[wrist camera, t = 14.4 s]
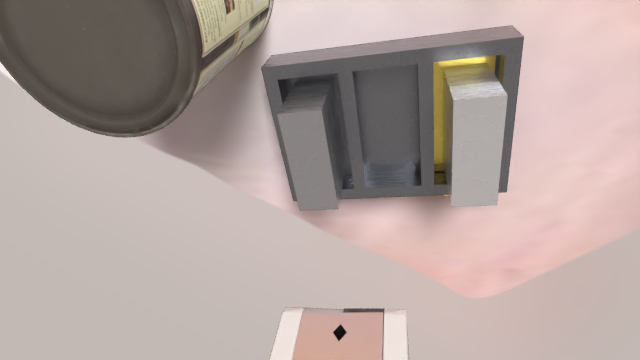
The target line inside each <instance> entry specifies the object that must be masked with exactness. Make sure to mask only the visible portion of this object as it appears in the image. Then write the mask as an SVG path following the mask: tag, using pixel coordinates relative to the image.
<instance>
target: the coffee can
mask: <svg viewBox="0 0 640 360" xmlns="http://www.w3.org/2000/svg"><path fill="white" fill-rule="evenodd" d="M272 4H273V0H0V62H1V63H2V64H3V66H4V67H5V68H6V69H7V71H8V72H9V73H10V74H11V75H12V77H13V78H14V79H15V80H16V81H17V82H18V83H19V85H20V86H21V87H22V88H23V89H25V90H26V91H27V92H28V93H29V94H30V95H31V96H32V97H33V98H34V99H35V100H37V101H38V102H39V103H40V104H42V105H43V106H44V107H46V108H47V109H48V110H50V111H51V112H53V113H54V114H56V115H57V116H59V117H60V118H62V119H64V120H66V121H68V122H70V123H71V124H74V125H76V126H78V127H80V128H83V129H85V130H88V131H91V132H94V133H97V134H102V135H106V136H113V137H137V136H143V135H147V134H151V133H153V132H156V131H158V130H160V129H162V128H164V127H165V126H167V125H168V124H170V123H171V122H172V121H173V120H175V119H176V118H177V117H178V116H179V115H180V114H181V113H182V112H183V110H184V109H185V108H186V106H187V105H188V104H189V102H190V100H191V99H192V98H193V97H194V96H195V95H196V94H197V93H198V92H199V91H200V90H202V89H203V88H204V87H205V86H206V85H207V84H208V83H209V82H210V81H211V80H212V79H213V78H214V77H215V76H216V75H217V74H218V73H219V72H220V71H222V70H223V69H224V68H225V67H226V66H227V65H228V64H229V63H230V62H231V61H232V60H233V59H234V58H235V57H236V56H237V55H238V54H240V53H241V52H242V51H243V50H244V49H245V48H246V47H248V46H249V45H250V44H252V43H253V42H254V41H255V40H256V39H257V38H258V37H259V36H260V34H261V33H262V31H263V30H264V28H265V26H266V24H267V22H268V20H269V17H270V14H271V10H272Z"/></svg>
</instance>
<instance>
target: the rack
mask: <svg viewBox="0 0 640 360" xmlns="http://www.w3.org/2000/svg"><path fill="white" fill-rule="evenodd" d="M523 40H524V36H523V35H522V34H521V33H520V32H519V31H517V30H516V29H515V28H514V27H513V26H504V27H495V28H487V29H479V30H471V31H463V32H455V33H447V34H439V35H431V36H423V37H415V38H407V39H399V40H391V41H383V42H375V43H367V44H359V45H351V46H343V47H335V48H327V49H319V50H311V51H303V52H295V53H287V54H279V55H271V57H270V58H269V59H268V60H267V61H266V62H265V64H264V65H263V66H262V67H261V69H262V74H263V78H264V82H265V86H266V90H267V94H268V98H269V102H270V106H271V111H272V115H273V119H274V123H275V127H276V131H277V135H278V139H279V143H280V148H281V152H282V156H283V160H284V164H285V168H286V172H287V176H288V180H289V185H290V189H291V193H292V197H293V201H298V205H299V209H300V210H324V209H339V203H340V199H356V198H380V197H404V196H427V195H444V196H449V193H448V188H447V183H446V178H445V173H444V168H443V68H446V67H455V66H464V65H473V64H483V63H488V65H489V66H490V68H491V70H492V71H493V73H494V74H495V76H496V78H497V79H498V81H499V82H500V84H501V85H502V87H503V89H504V90H505V92H506V93H507V95H508V97H507V107H506V117H505V128H504V138H503V148H502V159H501V169H500V179H499V189H498V193H499V192H507V185H508V176H509V167H510V158H511V149H512V140H513V130H514V121H515V112H516V103H517V94H518V85H519V76H520V67H521V58H522V49H523Z"/></svg>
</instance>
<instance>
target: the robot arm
mask: <svg viewBox="0 0 640 360" xmlns="http://www.w3.org/2000/svg"><path fill="white" fill-rule="evenodd" d="M269 360H409V347H408V330H407V315H406V310H405V309H401V310H400V309H385V310H384V309H322V308H297V307H286V308H285V309H284V311H283V313H282V315H281V319H280V322H279V326H278V330H277V333H276V337H275V340H274V344H273V348H272V351H271V355H270V358H269Z"/></svg>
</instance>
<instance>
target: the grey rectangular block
mask: <svg viewBox="0 0 640 360" xmlns="http://www.w3.org/2000/svg"><path fill="white" fill-rule="evenodd" d="M507 97H508V95H507V93H506V92H505V90H504V89H503V87H502V85H501V84H500V82H499V81H498V79H497V78H496V76H495V74H494V73H493V71H492V70H491V68H490V66H489V65H488V63H483V64H473V65H464V66H455V67H446V68H443V168H444V173H445V178H446V183H447V188H448V193H449V198H450V203H451V207H459V206H487V205H497V200H498V189H499V179H500V169H501V159H502V148H503V138H504V128H505V117H506V107H507Z"/></svg>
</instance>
